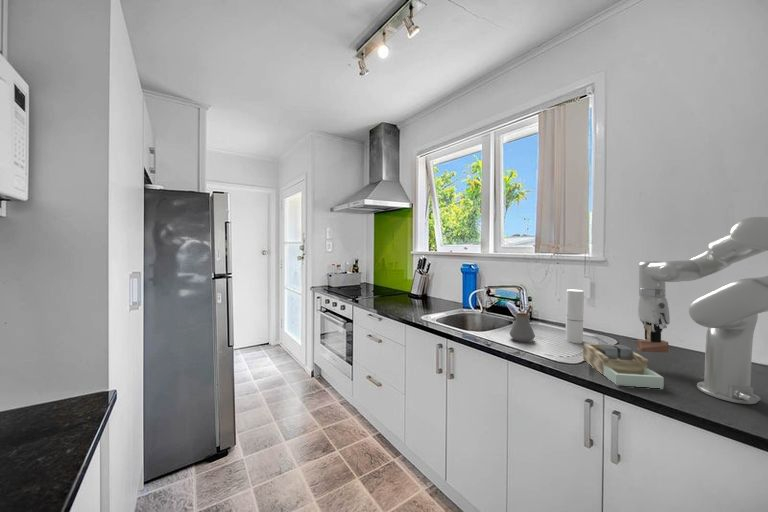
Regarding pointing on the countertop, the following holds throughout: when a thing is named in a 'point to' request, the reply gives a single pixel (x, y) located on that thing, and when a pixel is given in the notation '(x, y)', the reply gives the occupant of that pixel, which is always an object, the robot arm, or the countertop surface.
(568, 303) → the cylindrical container
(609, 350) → the blue-grey cube
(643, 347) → the wooden t-shaped piece
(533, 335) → the coffee pot
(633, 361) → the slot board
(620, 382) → the tray
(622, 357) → the blue-grey cube
